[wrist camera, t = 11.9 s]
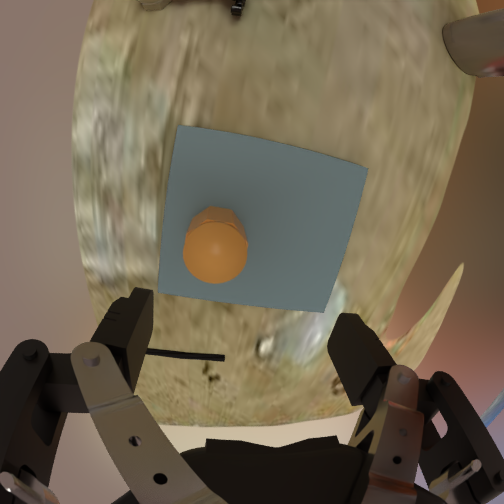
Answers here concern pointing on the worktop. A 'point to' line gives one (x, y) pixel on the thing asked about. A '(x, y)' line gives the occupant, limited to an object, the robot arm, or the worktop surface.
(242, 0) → the valve
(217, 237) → the cap
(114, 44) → the worktop surface
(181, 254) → the board
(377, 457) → the robot arm
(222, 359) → the black thin rod
